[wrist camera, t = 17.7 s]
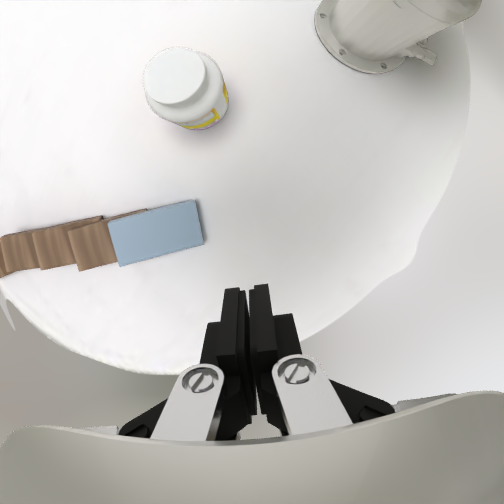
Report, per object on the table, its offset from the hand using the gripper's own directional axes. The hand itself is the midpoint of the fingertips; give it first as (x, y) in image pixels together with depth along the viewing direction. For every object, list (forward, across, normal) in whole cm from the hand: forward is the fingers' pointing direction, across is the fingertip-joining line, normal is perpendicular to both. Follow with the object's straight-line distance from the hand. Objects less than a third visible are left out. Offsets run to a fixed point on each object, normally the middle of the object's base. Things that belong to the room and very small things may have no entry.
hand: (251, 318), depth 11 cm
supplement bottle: (+24, +4, -13) cm, 27 cm away
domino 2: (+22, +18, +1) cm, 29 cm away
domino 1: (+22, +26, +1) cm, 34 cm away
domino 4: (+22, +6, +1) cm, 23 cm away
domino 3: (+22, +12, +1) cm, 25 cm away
